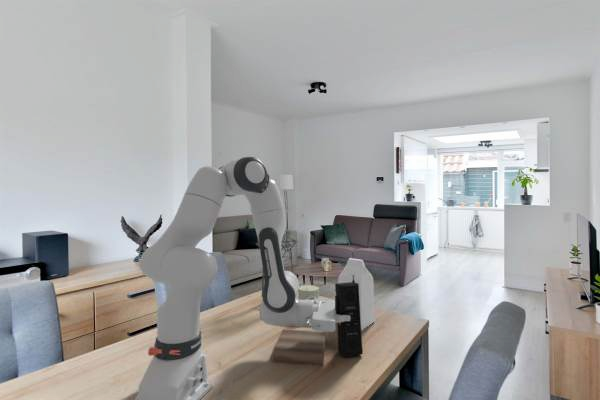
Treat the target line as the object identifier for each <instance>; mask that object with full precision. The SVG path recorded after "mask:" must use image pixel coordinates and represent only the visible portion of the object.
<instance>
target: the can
mask: <svg viewBox="0 0 600 400" xmlns="http://www.w3.org/2000/svg"><path fill="white" fill-rule="evenodd" d="M309 297H316V299H319V298H320V287H319V286H318V285H317V286H316V285H312V284H304V285H301V286H300V285H299V290H298V293H297V299H298V300H305V299H308V298H309Z"/></svg>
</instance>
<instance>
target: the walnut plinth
mask: <svg viewBox="0 0 600 400" xmlns="http://www.w3.org/2000/svg"><path fill="white" fill-rule="evenodd" d="M326 345H327V332H323V331H316V330H297V329H282V330H281V332H280V335H279V337H278V339H277V342H276V344H275V346H274V349H273V351H272V363H280V364H296V365H298V364H301V365H313V366H324V362H325V353H326Z"/></svg>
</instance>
